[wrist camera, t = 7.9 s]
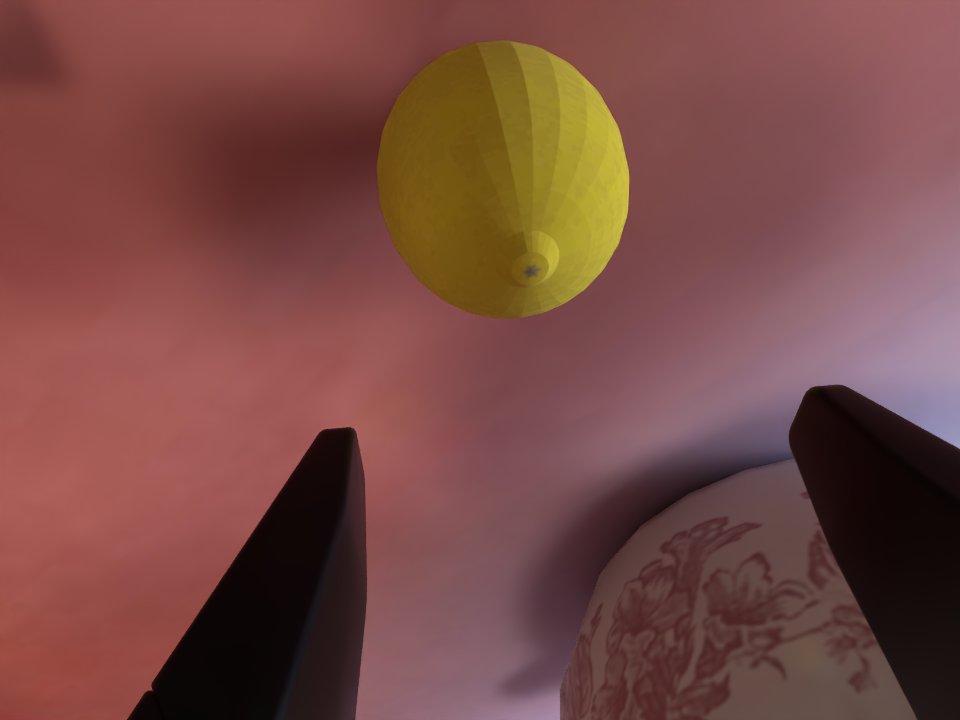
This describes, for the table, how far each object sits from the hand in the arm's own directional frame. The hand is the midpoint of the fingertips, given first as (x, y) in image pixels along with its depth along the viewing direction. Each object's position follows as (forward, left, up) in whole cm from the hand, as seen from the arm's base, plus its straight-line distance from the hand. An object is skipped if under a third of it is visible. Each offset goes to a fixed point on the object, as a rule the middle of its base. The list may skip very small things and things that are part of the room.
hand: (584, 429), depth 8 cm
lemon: (0, 0, -12) cm, 12 cm away
